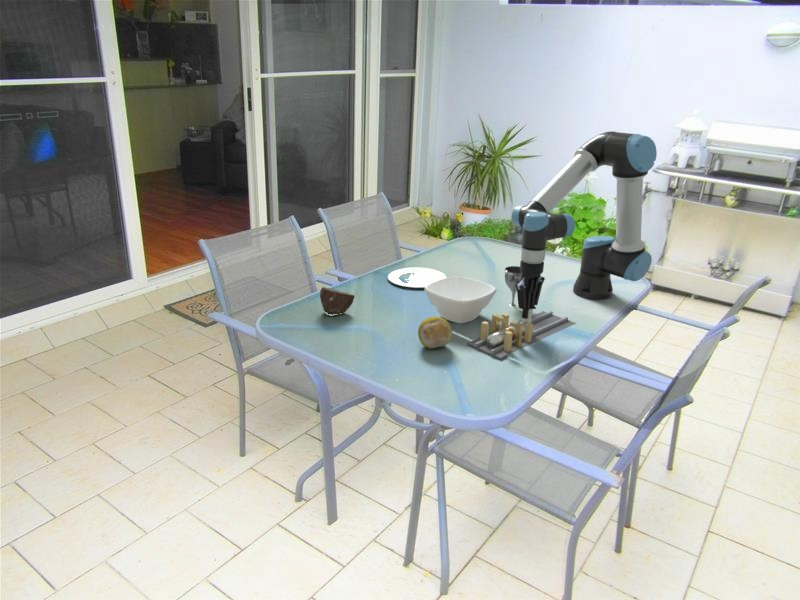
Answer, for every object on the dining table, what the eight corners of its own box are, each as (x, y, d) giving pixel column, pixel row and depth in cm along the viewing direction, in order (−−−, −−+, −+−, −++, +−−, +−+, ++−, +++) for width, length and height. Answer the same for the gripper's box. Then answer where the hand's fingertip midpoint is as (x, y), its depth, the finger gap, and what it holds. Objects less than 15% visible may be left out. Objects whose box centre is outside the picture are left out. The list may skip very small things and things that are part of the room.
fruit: (412, 343, 197) (413, 315, 193) (441, 338, 201) (443, 310, 197) (426, 356, 188) (426, 327, 184) (456, 350, 192) (457, 322, 188)
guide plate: (543, 313, 221) (544, 295, 219) (575, 325, 211) (578, 306, 209) (467, 344, 196) (468, 325, 193) (500, 360, 186) (502, 339, 184)
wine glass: (523, 311, 222) (526, 273, 216) (501, 310, 223) (504, 272, 218) (523, 304, 229) (526, 266, 224) (502, 302, 231) (505, 265, 225)
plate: (457, 277, 257) (457, 273, 257) (427, 295, 238) (428, 291, 237) (407, 267, 270) (407, 263, 269) (376, 283, 250) (376, 279, 249)
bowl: (455, 301, 231) (457, 273, 227) (502, 318, 216) (504, 288, 212) (415, 317, 217) (416, 287, 212) (462, 336, 202) (464, 304, 198)
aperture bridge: (493, 333, 202) (495, 313, 199) (521, 345, 194) (523, 324, 191) (490, 335, 201) (492, 315, 198) (518, 347, 193) (520, 326, 190)
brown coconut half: (355, 296, 222) (354, 290, 212) (347, 322, 220) (346, 317, 210) (323, 287, 222) (320, 281, 212) (315, 313, 220) (312, 308, 210)
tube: (519, 330, 205) (521, 319, 203) (529, 334, 202) (530, 323, 201) (484, 345, 194) (485, 334, 192) (494, 349, 191) (495, 338, 190)
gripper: (535, 253, 201) (529, 317, 210) (510, 261, 193) (505, 327, 202) (553, 259, 196) (546, 324, 205) (529, 267, 188) (523, 335, 197)
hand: (526, 326), depth 203 cm, fingers closed
